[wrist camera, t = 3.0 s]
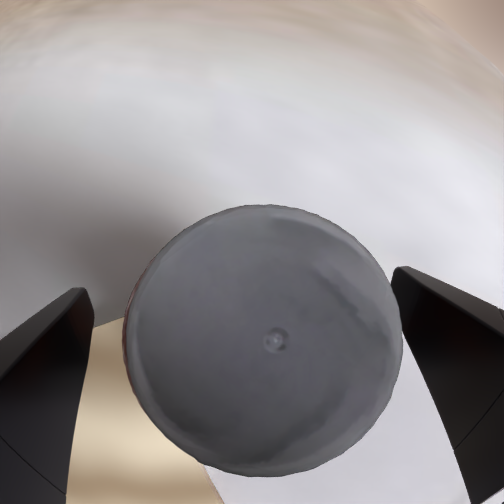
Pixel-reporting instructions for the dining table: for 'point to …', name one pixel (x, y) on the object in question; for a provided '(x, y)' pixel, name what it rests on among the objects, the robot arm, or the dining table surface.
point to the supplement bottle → (263, 340)
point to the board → (126, 441)
